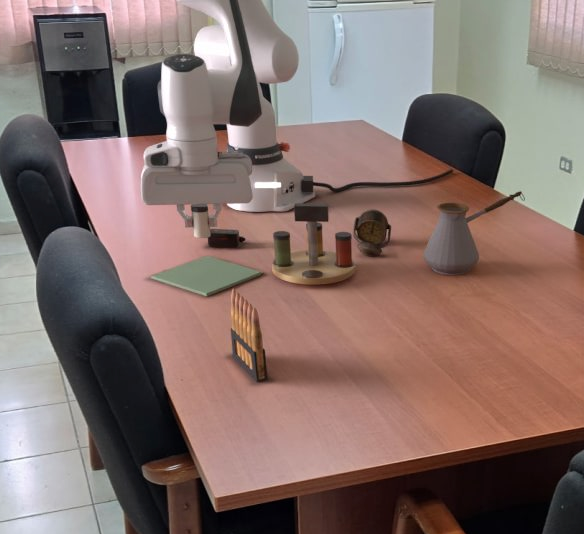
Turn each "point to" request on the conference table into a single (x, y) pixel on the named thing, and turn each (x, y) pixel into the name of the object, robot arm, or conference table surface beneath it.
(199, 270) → the sage mat
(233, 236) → the black box with knob
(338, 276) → the spice carousel
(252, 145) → the robot arm
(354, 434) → the conference table surface
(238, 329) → the ammunition clip
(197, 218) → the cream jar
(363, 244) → the vintage desk clock
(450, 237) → the coffee pot
